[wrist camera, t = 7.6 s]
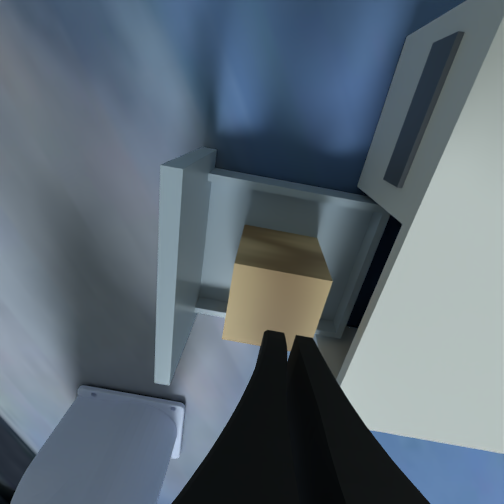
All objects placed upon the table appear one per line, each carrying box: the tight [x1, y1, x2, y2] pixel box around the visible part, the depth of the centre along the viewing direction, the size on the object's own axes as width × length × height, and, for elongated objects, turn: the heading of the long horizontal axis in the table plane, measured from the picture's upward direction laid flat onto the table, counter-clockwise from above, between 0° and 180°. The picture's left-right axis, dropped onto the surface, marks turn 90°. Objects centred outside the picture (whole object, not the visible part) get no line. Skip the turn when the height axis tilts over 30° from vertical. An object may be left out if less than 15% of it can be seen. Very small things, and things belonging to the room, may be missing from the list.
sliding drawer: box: [154, 147, 390, 386], centre depth 15 cm, size 10×11×7 cm
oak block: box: [222, 225, 333, 351], centre depth 16 cm, size 4×4×5 cm
